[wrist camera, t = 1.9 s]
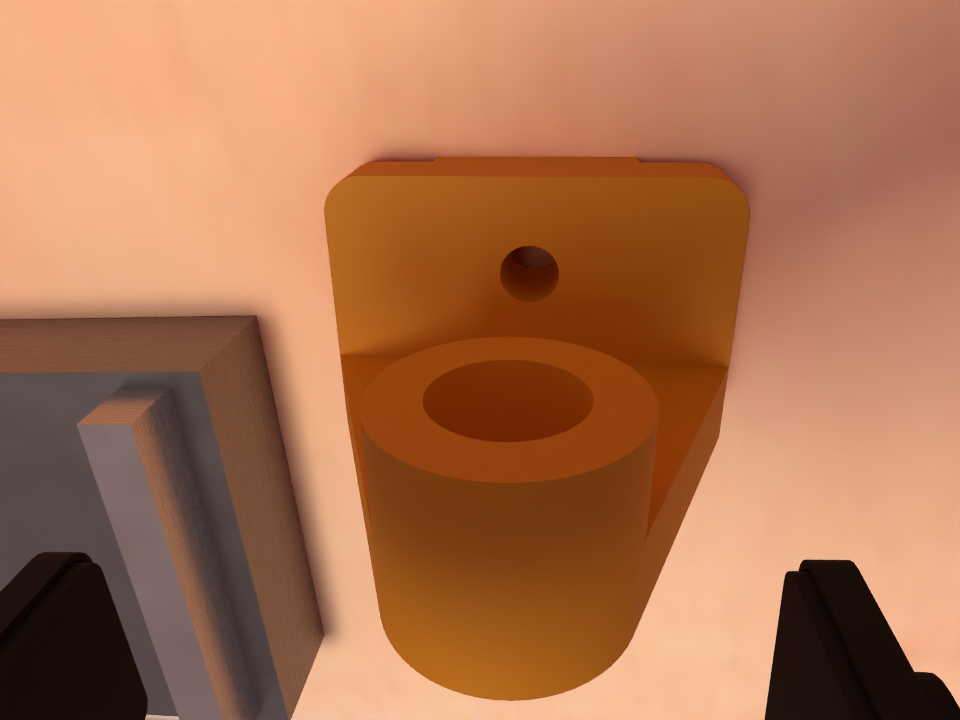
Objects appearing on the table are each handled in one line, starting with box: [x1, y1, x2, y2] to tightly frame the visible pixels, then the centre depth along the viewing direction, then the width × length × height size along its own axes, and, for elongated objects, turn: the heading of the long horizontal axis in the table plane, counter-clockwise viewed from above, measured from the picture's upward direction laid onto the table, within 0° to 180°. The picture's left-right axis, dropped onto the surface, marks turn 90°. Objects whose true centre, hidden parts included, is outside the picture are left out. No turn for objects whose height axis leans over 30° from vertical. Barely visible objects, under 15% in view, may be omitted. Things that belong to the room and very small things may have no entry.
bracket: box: [324, 157, 750, 701], centre depth 17 cm, size 11×7×12 cm
